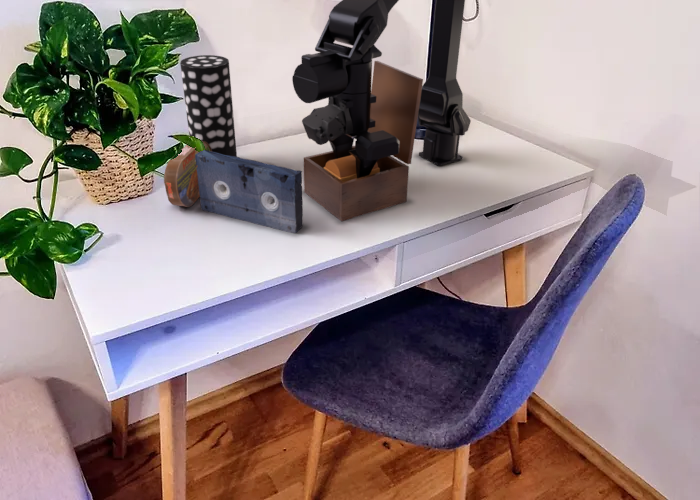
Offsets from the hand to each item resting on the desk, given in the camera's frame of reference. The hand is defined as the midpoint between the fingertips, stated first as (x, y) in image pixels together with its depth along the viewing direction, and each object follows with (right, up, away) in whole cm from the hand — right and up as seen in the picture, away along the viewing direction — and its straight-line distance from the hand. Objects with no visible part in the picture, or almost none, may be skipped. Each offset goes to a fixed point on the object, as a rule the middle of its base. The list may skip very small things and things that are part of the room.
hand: (351, 178), depth 107 cm
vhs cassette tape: (-17, -7, -5) cm, 19 cm away
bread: (0, -1, 0) cm, 1 cm away
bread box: (+1, -3, +2) cm, 4 cm away
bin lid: (+7, +11, -2) cm, 13 cm away
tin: (-28, -3, +2) cm, 28 cm away
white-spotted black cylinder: (-26, +3, +12) cm, 29 cm away
